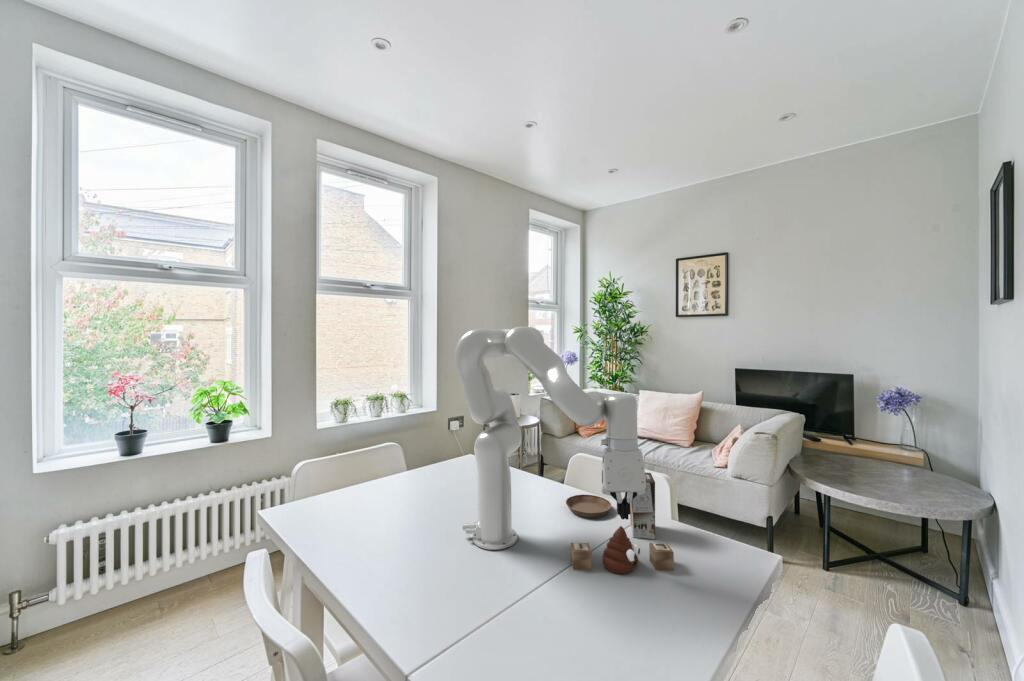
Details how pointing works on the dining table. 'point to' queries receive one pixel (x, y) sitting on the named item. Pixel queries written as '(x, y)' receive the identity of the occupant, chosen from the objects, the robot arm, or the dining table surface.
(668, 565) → the letter l block
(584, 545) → the letter i block
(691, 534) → the dining table surface
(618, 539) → the poop emoji
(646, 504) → the coffee box
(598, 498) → the saucer
